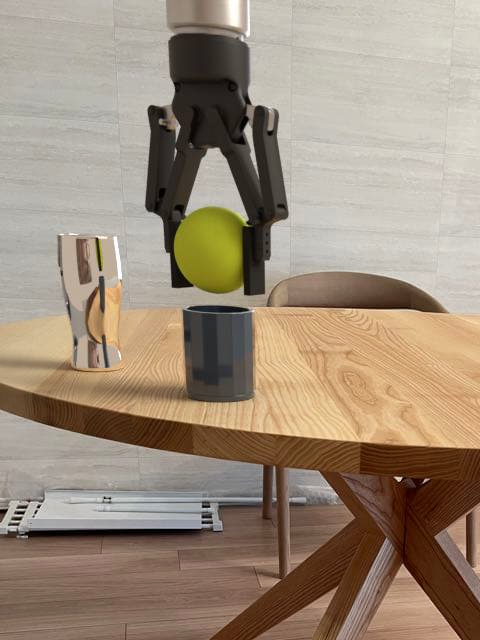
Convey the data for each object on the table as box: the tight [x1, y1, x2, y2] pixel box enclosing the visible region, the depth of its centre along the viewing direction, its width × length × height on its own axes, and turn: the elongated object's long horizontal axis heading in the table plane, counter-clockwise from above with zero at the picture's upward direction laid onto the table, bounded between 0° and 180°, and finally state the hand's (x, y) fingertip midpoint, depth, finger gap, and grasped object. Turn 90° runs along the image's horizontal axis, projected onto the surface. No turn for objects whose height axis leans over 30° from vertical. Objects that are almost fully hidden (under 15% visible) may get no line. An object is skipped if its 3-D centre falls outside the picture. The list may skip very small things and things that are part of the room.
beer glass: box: [55, 232, 126, 372], centre depth 97 cm, size 7×7×15 cm
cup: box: [180, 304, 257, 403], centre depth 88 cm, size 7×7×9 cm
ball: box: [174, 205, 248, 295], centre depth 84 cm, size 8×8×8 cm
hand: (218, 290), depth 85 cm, fingers closed on ball, 8 cm apart
